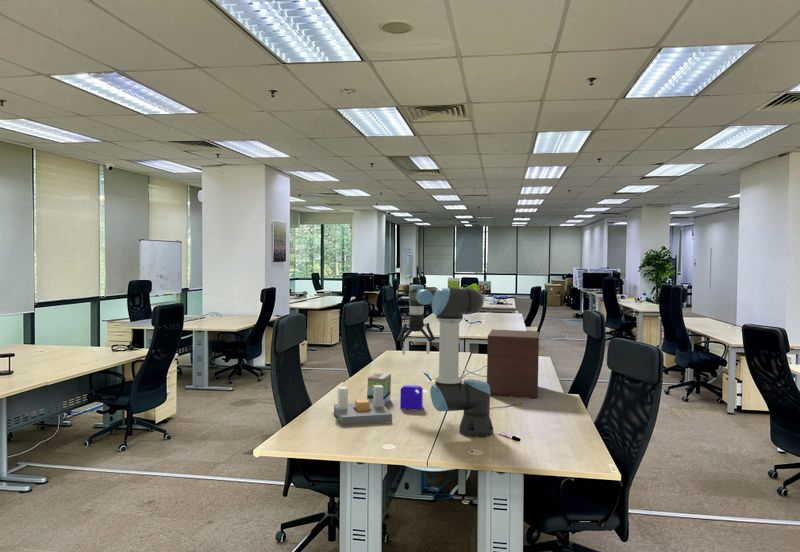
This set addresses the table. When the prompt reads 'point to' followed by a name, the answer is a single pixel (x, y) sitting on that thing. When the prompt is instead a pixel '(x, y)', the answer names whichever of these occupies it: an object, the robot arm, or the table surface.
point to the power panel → (362, 415)
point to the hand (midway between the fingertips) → (415, 353)
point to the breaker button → (362, 405)
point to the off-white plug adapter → (342, 397)
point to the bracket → (411, 397)
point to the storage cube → (513, 363)
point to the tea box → (379, 380)
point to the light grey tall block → (378, 395)
